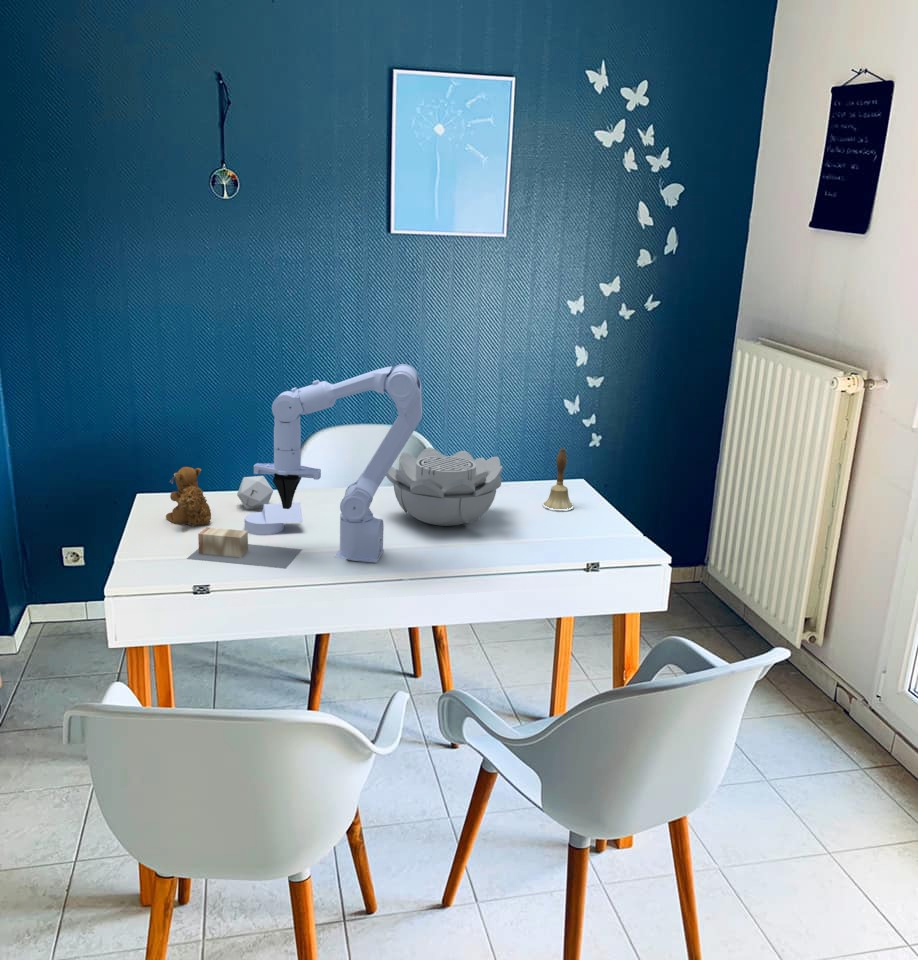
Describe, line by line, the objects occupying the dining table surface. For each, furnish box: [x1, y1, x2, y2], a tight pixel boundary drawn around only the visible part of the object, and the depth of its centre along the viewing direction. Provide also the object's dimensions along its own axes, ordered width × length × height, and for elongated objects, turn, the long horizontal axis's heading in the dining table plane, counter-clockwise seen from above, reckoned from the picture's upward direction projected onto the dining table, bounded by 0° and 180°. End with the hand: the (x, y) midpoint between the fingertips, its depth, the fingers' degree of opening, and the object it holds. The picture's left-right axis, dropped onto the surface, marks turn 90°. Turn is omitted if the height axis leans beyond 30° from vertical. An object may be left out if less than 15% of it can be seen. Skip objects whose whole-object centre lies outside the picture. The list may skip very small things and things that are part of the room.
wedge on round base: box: [243, 502, 304, 536], centre depth 224 cm, size 9×7×13 cm
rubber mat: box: [186, 543, 303, 569], centre depth 208 cm, size 22×12×1 cm, turn 82°
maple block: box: [197, 526, 249, 557], centre depth 208 cm, size 4×4×10 cm
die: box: [236, 475, 274, 511], centre depth 241 cm, size 8×9×10 cm
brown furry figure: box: [165, 466, 212, 528], centre depth 227 cm, size 10×14×13 cm
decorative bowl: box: [385, 447, 503, 527], centre depth 236 cm, size 30×30×15 cm
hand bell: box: [543, 448, 574, 509], centre depth 251 cm, size 8×8×16 cm
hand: (287, 507), depth 209 cm, fingers closed
